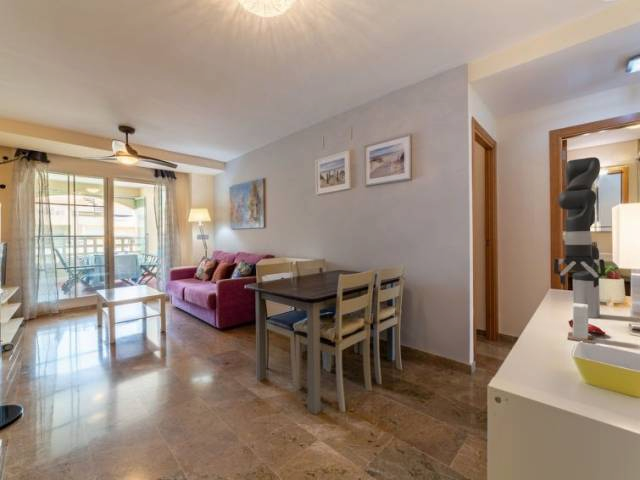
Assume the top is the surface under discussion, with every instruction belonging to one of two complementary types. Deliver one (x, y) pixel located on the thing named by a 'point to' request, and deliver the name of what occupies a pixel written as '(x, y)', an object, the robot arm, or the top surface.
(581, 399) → the top surface
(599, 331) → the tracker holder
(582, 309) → the skincare box
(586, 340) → the coaster
